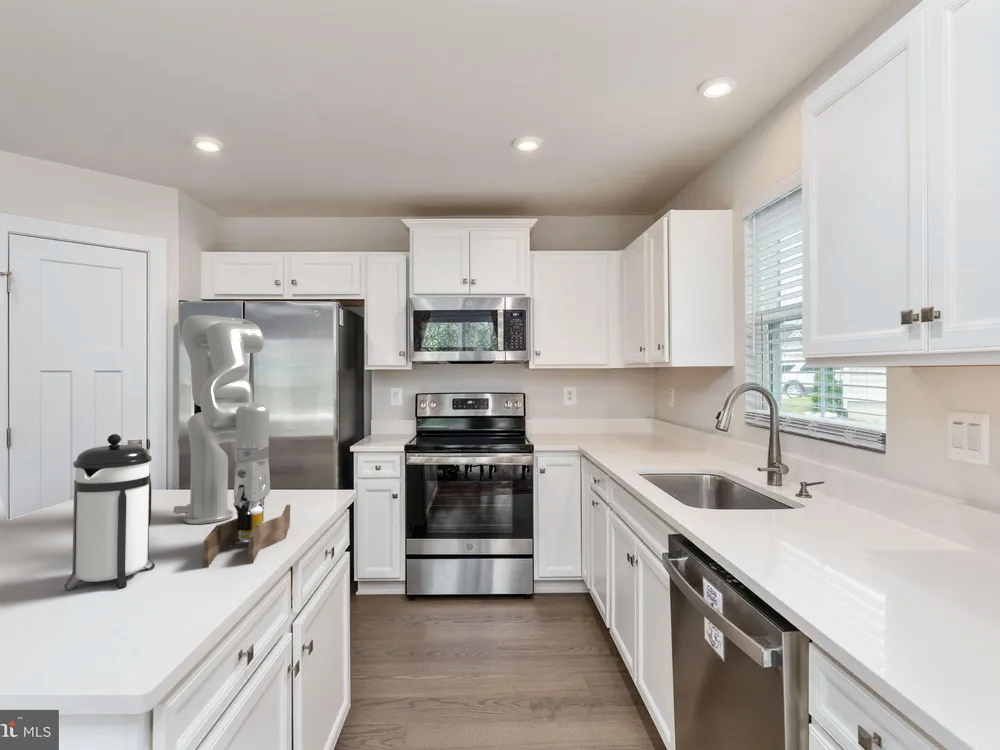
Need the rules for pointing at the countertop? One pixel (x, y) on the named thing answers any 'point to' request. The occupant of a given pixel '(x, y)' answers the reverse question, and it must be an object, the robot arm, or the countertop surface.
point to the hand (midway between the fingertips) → (250, 525)
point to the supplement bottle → (256, 519)
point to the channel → (258, 538)
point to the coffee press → (111, 513)
